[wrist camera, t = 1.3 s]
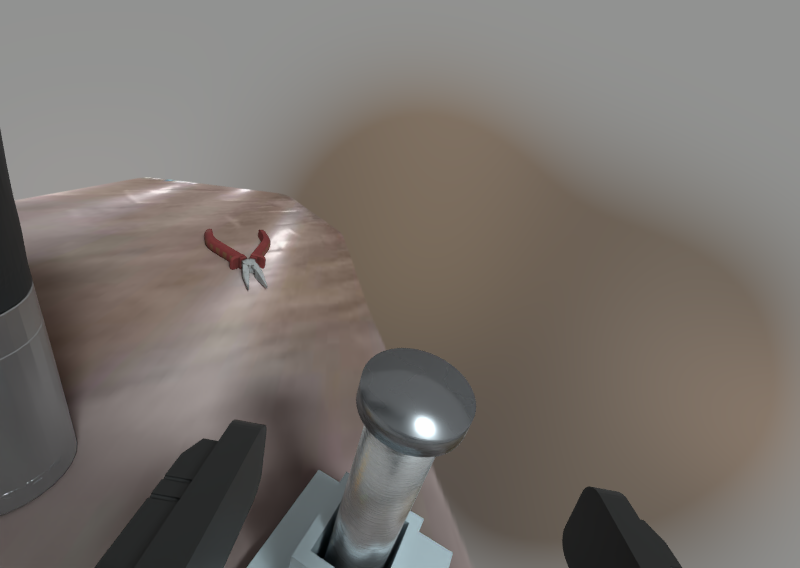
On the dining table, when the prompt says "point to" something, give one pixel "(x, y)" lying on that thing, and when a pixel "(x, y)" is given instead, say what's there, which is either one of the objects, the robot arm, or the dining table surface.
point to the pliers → (242, 256)
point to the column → (396, 449)
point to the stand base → (313, 524)
